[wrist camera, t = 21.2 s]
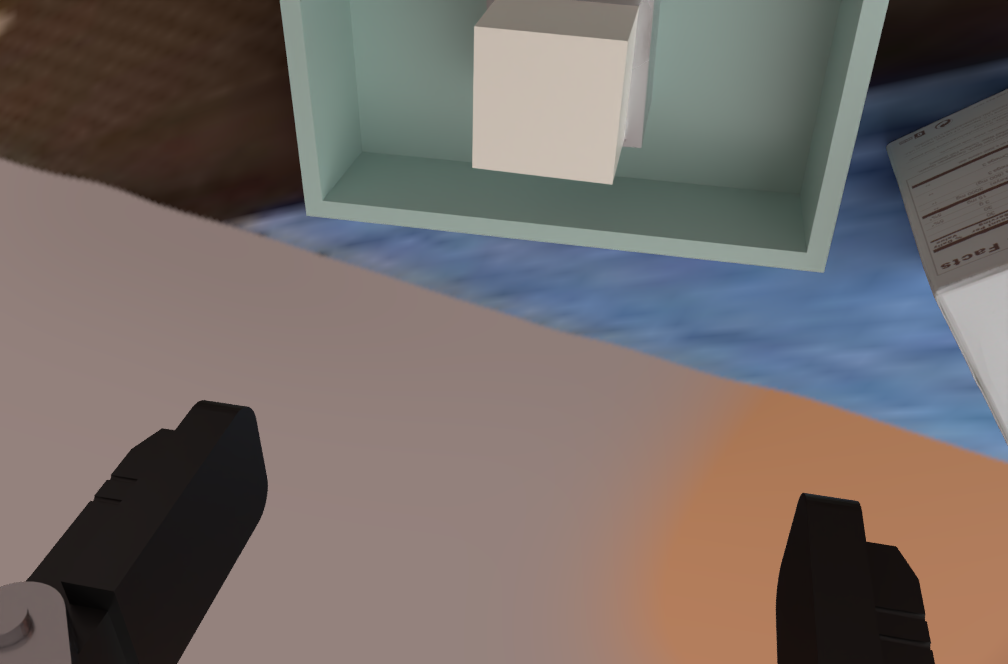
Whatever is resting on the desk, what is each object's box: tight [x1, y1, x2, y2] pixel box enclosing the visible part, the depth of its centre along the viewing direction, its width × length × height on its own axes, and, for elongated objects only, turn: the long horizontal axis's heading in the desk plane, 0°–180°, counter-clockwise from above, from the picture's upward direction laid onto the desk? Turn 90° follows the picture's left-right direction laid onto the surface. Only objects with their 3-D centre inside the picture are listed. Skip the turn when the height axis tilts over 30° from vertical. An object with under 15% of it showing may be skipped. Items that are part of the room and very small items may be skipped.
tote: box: [280, 0, 889, 273], centre depth 37 cm, size 15×22×6 cm
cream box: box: [472, 0, 639, 185], centre depth 33 cm, size 5×5×4 cm
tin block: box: [487, 0, 661, 148], centre depth 36 cm, size 6×6×5 cm
